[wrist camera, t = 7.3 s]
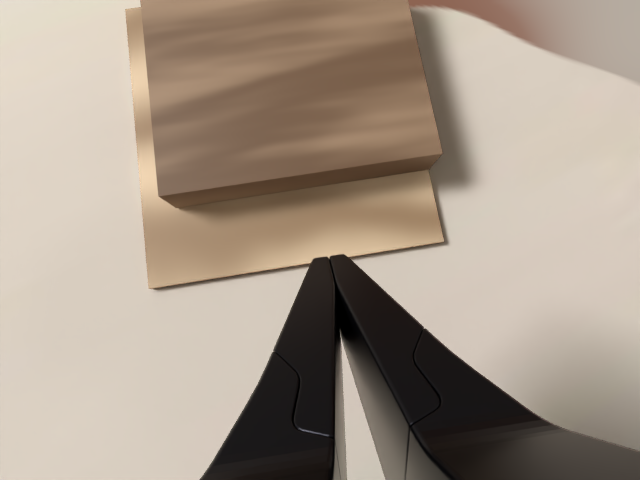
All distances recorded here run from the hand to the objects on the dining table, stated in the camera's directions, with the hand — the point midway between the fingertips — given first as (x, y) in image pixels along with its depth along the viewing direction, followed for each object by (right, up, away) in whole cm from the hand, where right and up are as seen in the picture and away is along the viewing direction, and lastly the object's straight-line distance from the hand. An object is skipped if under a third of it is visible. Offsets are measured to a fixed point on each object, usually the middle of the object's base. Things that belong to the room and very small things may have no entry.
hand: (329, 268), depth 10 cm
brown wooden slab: (-1, +4, +11) cm, 11 cm away
